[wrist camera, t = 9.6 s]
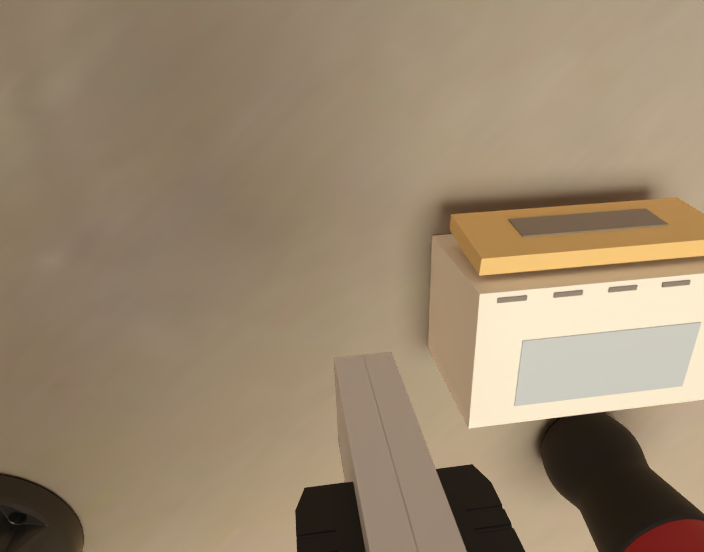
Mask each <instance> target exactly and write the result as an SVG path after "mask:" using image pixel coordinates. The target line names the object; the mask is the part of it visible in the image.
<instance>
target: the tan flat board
mask: <svg viewBox="0 0 704 552" xmlns="http://www.w3.org/2000/svg"><path fill="white" fill-rule="evenodd" d="M450 231H451V233H452V234H453V236H454V237H455V239H456V241H457V242H458V244H459V245H460V247H461V248H462V250H463V251H464V253H465V255H466V256H467V258H468V259H469V261H470V262H471V264H472V265H473V267H474V269H475V270H476V272H477V273H478V275H479V276H482V275H493V274H504V273H515V272H527V271H538V270H549V269H560V268H572V267H583V266H594V265H605V264H617V263H628V262H639V261H650V260H662V259H673V258H684V257H695V256H704V214H703V213H702V212H700V211H698V210H697V209H695V208H693V207H692V206H690V205H689V204H687V203H685V202H684V201H682V200H680V199H679V198H663V199H650V200H637V201H623V202H610V203H596V204H583V205H569V206H556V207H543V208H529V209H516V210H502V211H489V212H476V213H462V214H451V221H450Z"/></svg>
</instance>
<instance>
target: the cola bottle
mask: <svg viewBox="0 0 704 552" xmlns="http://www.w3.org/2000/svg"><path fill="white" fill-rule="evenodd" d="M541 455H542V460H543V464H544V468H545V470H546V473H547V475H548V477H549V479H550V481H551V483H552V484H553V486H554V487H555V488H556V490H557V491H558V492H559V493H560V494H561V495H562V496H563V497H565V498H566V499H567V500H568V501H570V502H571V503H572V504H573V505H575V506H576V507H577V508H578V509H579V510H580V512H581V514H582V516H583V518H584V520H585V522H586V525H587V527H588V529H589V531H590V533H591V536H592V538H593V540H594V542H595V545H596V547H597V549H598V551H599V552H704V514H703V513H702V512H701V511H700V510H699V509H698V508H696V507H695V506H694V505H693V504H692V503H690V502H689V501H688V500H687V499H686V498H685V497H683V496H682V495H681V494H680V493H679V492H677V491H676V490H675V489H674V488H673V487H672V486H670V485H669V484H668V483H667V482H666V481H664V480H663V479H662V478H661V477H660V476H658V475H657V474H656V473H655V472H654V471H653V470H651V469H650V467H649V466H648V464H647V462H646V459H645V457H644V454H643V452H642V449H641V447H640V445H639V443H638V442H637V440H636V439H635V437H634V436H633V435H632V434H631V432H630V431H629V430H628V429H627V428H625V427H624V426H623V425H622V424H620V423H619V422H618V421H616V420H615V419H613V418H611V417H610V416H608V415H606V414H603V413H601V412H598V413H590V414H582V415H573V416H565V417H563V418H561V419H560V420H558V421H557V422H556V423H554V424H553V425H552V426H551V428H550V429H549V430H548V431H547V433H546V435H545V437H544V439H543V442H542V447H541Z"/></svg>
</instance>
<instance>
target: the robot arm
mask: <svg viewBox="0 0 704 552" xmlns="http://www.w3.org/2000/svg"><path fill="white" fill-rule="evenodd" d="M334 369H335V387H336V405H337V423H338V441H339V447H340V453H341V459H342V466H343V472H344V478H345V483H338V484H330V485H323V486H315V487H307V488H304V491H303V493H302V496H301V498H300V501H299V503H298V505H297V508H296V510H295V512H296V536H297V552H525V550H524V548H523V546H522V544H521V542H520V540H519V538H518V536H517V534H516V532H515V530H514V528H512V526H511V522H510V520H509V518H508V516H507V514H506V512H505V510H504V509H503V508H502V504H501V502H500V499H499V497H498V495H497V493H496V491H495V489H494V487H493V485H492V483H491V482H490V481H489V480H488V479H487V478H486V477H485V476H484V475H483V474H482V473H481V472H480V471H479V470H478V469H476V468H475V467H474V466H473V465H472V464H471V465H464V466H456V467H448V468H441V469H435V466H434V463H433V461H432V458H431V455H430V453H429V450H428V447H427V445H426V442H425V439H424V437H423V434H422V431H421V429H420V426H419V423H418V421H417V418H416V415H415V413H414V410H413V408H412V405H411V402H410V400H409V397H408V394H407V392H406V389H405V386H404V384H403V381H402V378H401V376H400V373H399V370H398V368H397V365H396V362H395V360H394V357H393V354H392V352H386V353H376V354H367V355H357V356H348V357H338V358H334ZM83 542H84V538H83V531H82V528H81V525H80V522H79V520H78V519H77V517H76V515H75V514H74V513H73V511H72V510H71V509H70V508H69V507H68V506H67V505H66V504H65V503H64V502H63V501H62V500H61V499H59V498H58V497H57V496H55V495H54V494H52V493H51V492H49V491H47V490H45V489H43V488H41V487H39V486H37V485H35V484H32V483H30V482H27V481H24V480H21V479H17V478H13V477H9V476H3V475H0V552H82V549H83Z"/></svg>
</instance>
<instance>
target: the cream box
mask: <svg viewBox="0 0 704 552" xmlns="http://www.w3.org/2000/svg"><path fill="white" fill-rule="evenodd" d="M428 348H429V350H430V352H431V354H432V356H433V358H434V360H435V362H436V364H437V366H438V368H439V370H440V372H441V374H442V376H443V378H444V380H445V382H446V384H447V386H448V388H449V390H450V392H451V394H452V396H453V398H454V400H455V402H456V404H457V406H458V408H459V410H460V412H461V414H462V416H463V418H464V420H465V422H466V424H467V426H468V428H476V427H484V426H492V425H500V424H508V423H517V422H525V421H533V420H541V419H549V418H557V417H565V416H573V415H582V414H590V413H598V412H606V411H614V410H622V409H630V408H638V407H647V406H655V405H663V404H671V403H679V402H687V401H695V400H703V399H704V256H695V257H684V258H673V259H662V260H650V261H639V262H628V263H617V264H605V265H594V266H583V267H572V268H560V269H549V270H538V271H527V272H515V273H504V274H493V275H482V276H479V275H478V273H477V272H476V270H475V269H474V267H473V265H472V264H471V262H470V261H469V259H468V258H467V256H466V255H465V253H464V251H463V250H462V248H461V247H460V245H459V244H458V242H457V241H456V239H455V237H454V236H453V234H447V235H434V236H432V249H431V277H430V304H429V331H428Z"/></svg>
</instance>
